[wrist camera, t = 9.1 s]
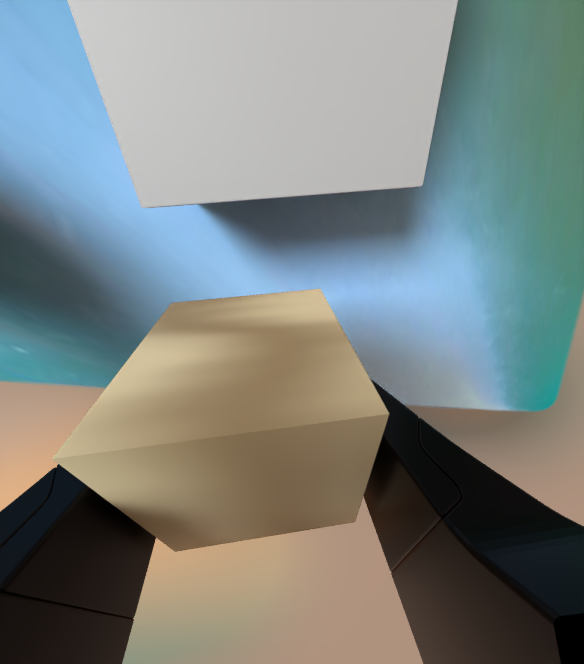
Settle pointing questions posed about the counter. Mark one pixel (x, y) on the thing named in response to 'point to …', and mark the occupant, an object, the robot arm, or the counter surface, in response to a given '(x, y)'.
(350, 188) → the lid
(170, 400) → the block
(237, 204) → the counter surface
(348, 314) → the counter surface
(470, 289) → the counter surface
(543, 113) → the counter surface
